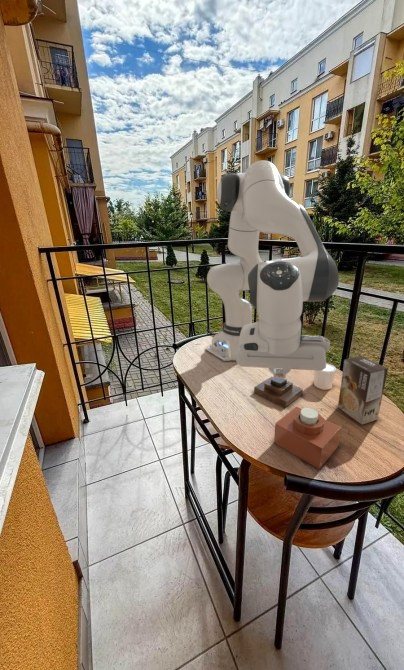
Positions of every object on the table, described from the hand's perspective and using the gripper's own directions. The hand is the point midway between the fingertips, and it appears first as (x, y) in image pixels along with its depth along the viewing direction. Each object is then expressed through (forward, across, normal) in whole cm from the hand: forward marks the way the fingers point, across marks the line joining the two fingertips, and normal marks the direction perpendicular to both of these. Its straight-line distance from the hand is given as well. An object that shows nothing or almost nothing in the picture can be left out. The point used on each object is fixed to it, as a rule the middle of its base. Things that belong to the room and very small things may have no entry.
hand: (279, 376), depth 70 cm
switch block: (+22, +1, -11) cm, 25 cm away
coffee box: (+22, -22, -5) cm, 31 cm away
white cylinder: (+26, -14, -18) cm, 35 cm away
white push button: (+7, -7, +7) cm, 12 cm away
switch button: (+19, +1, -12) cm, 23 cm away
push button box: (+14, -7, +10) cm, 19 cm away
